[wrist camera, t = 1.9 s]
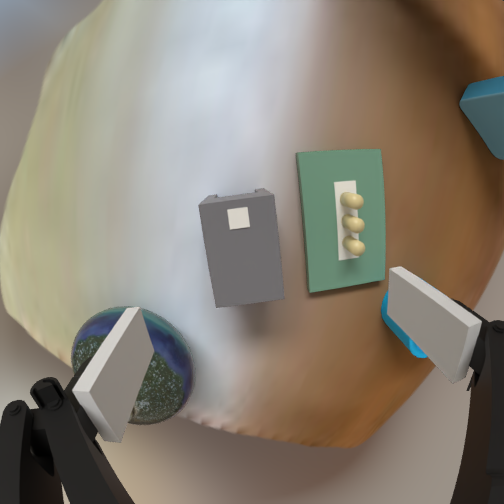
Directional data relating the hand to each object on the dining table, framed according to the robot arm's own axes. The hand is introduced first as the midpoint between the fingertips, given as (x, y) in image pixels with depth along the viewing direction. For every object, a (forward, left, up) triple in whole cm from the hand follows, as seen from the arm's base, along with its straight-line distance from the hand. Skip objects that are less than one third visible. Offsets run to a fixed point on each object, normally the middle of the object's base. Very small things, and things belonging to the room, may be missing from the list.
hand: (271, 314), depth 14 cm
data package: (-13, +37, -19) cm, 44 cm away
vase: (+13, -16, -19) cm, 28 cm away
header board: (0, +11, -19) cm, 22 cm away
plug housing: (0, -1, -19) cm, 19 cm away
